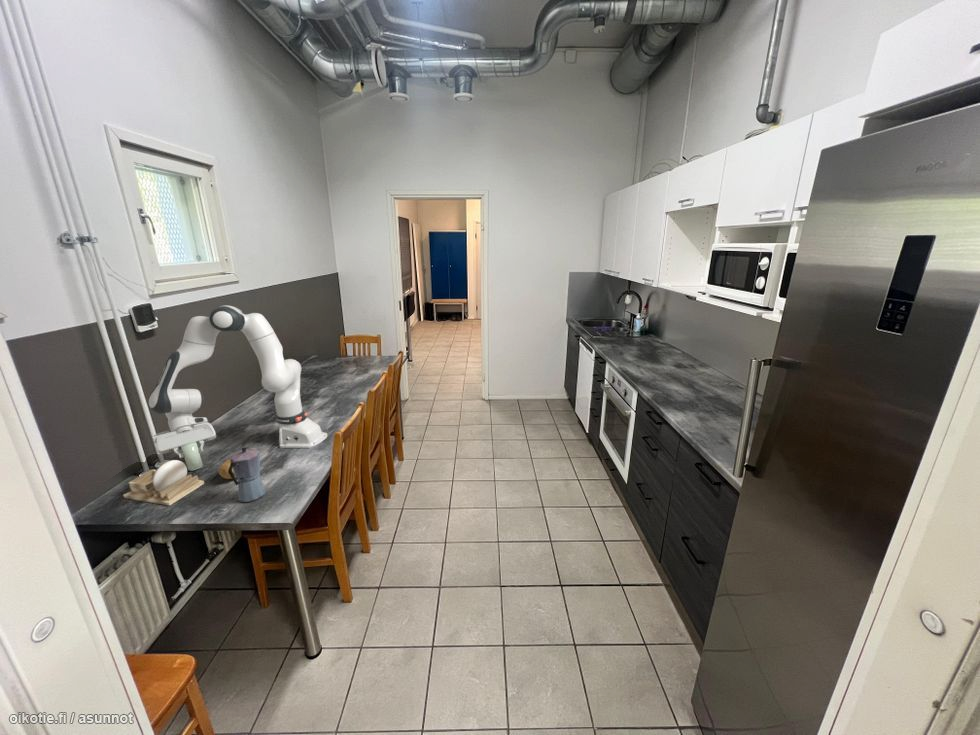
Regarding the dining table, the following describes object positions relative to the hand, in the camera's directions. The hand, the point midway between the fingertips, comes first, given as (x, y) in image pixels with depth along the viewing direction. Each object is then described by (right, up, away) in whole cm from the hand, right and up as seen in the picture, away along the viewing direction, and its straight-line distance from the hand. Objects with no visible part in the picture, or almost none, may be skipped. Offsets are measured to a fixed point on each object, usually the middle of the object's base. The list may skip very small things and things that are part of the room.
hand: (191, 454), depth 161 cm
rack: (-1, -11, -12) cm, 16 cm away
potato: (+21, -8, -2) cm, 23 cm away
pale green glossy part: (0, -6, +2) cm, 6 cm away
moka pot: (+36, -12, -16) cm, 41 cm away
